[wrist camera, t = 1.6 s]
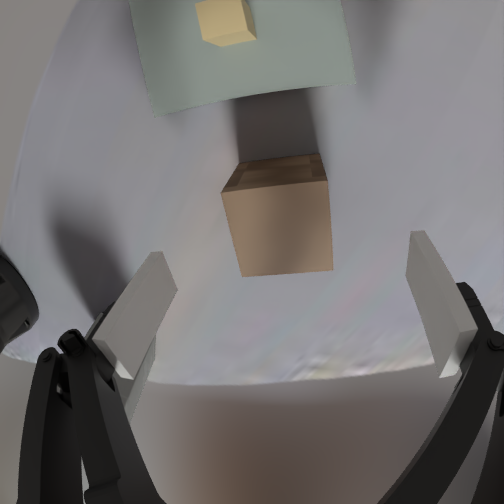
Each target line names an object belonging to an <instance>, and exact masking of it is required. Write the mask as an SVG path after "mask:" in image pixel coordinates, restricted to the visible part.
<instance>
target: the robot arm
mask: <svg viewBox="0 0 504 504" xmlns="http://www.w3.org/2000/svg"><path fill="white" fill-rule="evenodd" d="M406 278H407V281H408V283H409V286H410V289H411V291H412V294H413V297H414V299H415V302H416V305H417V308H418V310H419V313H420V316H421V319H422V322H423V325H424V328H425V331H426V334H427V338H428V341H429V344H430V347H431V351H432V354H433V358H434V361H435V365H436V368H437V372H438V376H439V378H442V377H447V376H452V375H455V374H456V372H457V370H458V369H459V367H460V368H461V371H462V376H461V377H460V379H459V381H458V382H457V384H456V386H455V389H454V391H453V393H452V395H451V397H450V399H449V401H448V403H447V405H446V407H445V408H444V410H443V412H442V414H441V415H440V417H439V419H438V420H437V422H436V424H435V426H434V427H433V429H432V430H431V432H430V434H429V435H428V437H427V438H426V440H425V441H424V443H423V444H422V446H421V447H420V449H419V450H418V452H417V453H416V455H415V456H414V458H413V459H412V460H411V462H410V463H409V465H408V466H407V467H406V469H405V470H404V471H403V473H402V474H401V475H400V477H399V478H398V479H397V480H396V482H395V483H394V484H393V485H392V487H391V488H390V489H389V490H388V491H387V493H386V494H385V495H384V496H383V498H381V500H380V501H379V502H378V503H377V504H437V503H438V501H439V500H440V499H441V497H442V496H443V494H444V493H445V491H446V490H447V488H448V486H449V485H450V483H451V482H452V480H453V478H454V477H455V475H456V474H457V472H458V470H459V469H460V467H461V465H462V463H463V461H464V460H465V458H466V456H467V454H468V452H469V450H470V448H471V447H472V445H473V443H474V441H475V439H476V436H477V434H478V432H479V430H480V428H481V426H482V424H483V421H484V419H485V417H486V415H487V412H488V410H489V407H490V405H491V402H492V400H493V397H494V394H495V392H496V391H498V395H497V403H496V410H495V416H494V422H493V427H492V432H491V437H490V441H489V446H488V450H487V454H486V458H485V461H484V465H483V469H482V472H481V476H480V479H479V482H478V485H477V488H476V491H475V494H474V496H473V499H472V502H471V504H504V335H503V334H502V333H500V332H498V331H494V329H493V327H492V325H491V323H490V321H489V319H488V317H487V315H486V313H485V311H484V309H483V307H482V306H481V303H480V301H479V299H477V296H476V294H475V292H474V290H473V289H472V288H471V287H470V286H469V285H468V284H467V283H465V282H461V283H455V281H454V280H453V278H452V276H451V274H450V272H449V271H448V269H447V267H446V265H445V264H444V262H443V260H442V258H441V257H440V255H439V253H438V252H437V250H436V248H435V247H434V245H433V244H432V242H431V240H430V239H429V237H428V236H427V234H426V232H425V231H411V234H410V244H409V253H408V261H407V269H406ZM177 290H178V289H177V287H176V284H175V282H174V279H173V277H172V274H171V272H170V269H169V267H168V264H167V262H166V259H165V257H164V254H163V252H162V251H161V252H151V253H150V254H149V256H148V257H147V259H146V260H145V261H144V263H143V264H142V265H141V267H140V268H139V270H138V271H137V272H136V274H135V275H134V277H133V278H132V279H131V281H130V282H129V284H128V285H127V287H126V288H125V289H124V291H123V292H122V294H121V295H120V297H119V298H118V300H117V301H116V302H113V303H112V304H111V305H110V306H109V307H108V308H107V309H106V310H105V312H104V313H103V315H102V317H101V318H100V319H99V322H98V323H97V324H96V325H95V327H94V329H93V330H92V332H91V333H90V335H89V336H88V338H87V339H86V340H85V339H84V337H83V336H82V334H81V333H80V332H79V330H77V329H71V330H68V331H67V332H65V333H64V334H63V335H62V336H61V337H60V338H59V340H58V344H57V345H58V346H59V347H60V349H61V350H62V351H63V353H62V354H59V353H58V351H57V350H56V349H55V348H53V347H49V348H47V349H45V350H44V351H42V353H41V354H40V355H39V357H38V360H37V364H36V368H35V372H34V376H33V380H32V385H31V389H30V394H29V399H28V404H27V409H26V415H25V421H24V427H23V435H22V443H21V451H20V462H19V479H18V500H17V503H16V504H84V503H83V491H82V471H81V470H82V469H81V456H82V460H83V464H84V468H85V472H86V476H87V479H88V483H89V489H87V490H86V491H85V492H84V499H85V503H86V504H166V503H165V502H164V501H163V500H162V499H161V497H160V496H159V494H158V493H157V491H156V488H155V486H154V484H153V482H152V480H151V478H150V475H149V473H148V471H147V468H146V466H145V464H144V461H143V459H142V456H141V454H140V451H139V449H138V446H137V444H136V441H135V438H134V436H133V433H132V430H131V427H130V424H129V421H128V418H127V415H126V412H125V409H124V406H123V403H122V400H121V396H120V393H119V390H118V386H117V383H116V380H115V378H114V376H113V373H114V371H115V370H116V372H117V373H118V374H119V375H120V377H122V378H127V379H133V380H134V378H135V376H136V373H137V371H138V369H139V367H140V365H141V363H142V361H143V359H144V357H145V354H146V352H147V350H148V348H149V346H150V344H151V342H152V340H153V338H154V336H155V334H156V332H157V330H158V328H159V326H160V324H161V322H162V320H163V318H164V316H165V314H166V312H167V310H168V308H169V306H170V304H171V302H172V300H173V298H174V296H175V294H176V292H177ZM38 317H39V312H38V307H37V304H36V302H35V300H34V297H33V295H32V294H31V292H30V290H29V288H28V287H27V285H26V284H25V282H24V281H23V280H22V278H21V277H20V276H19V274H18V273H17V272H16V271H15V269H14V268H13V267H12V266H11V265H10V264H9V263H8V262H7V261H6V260H5V259H3V258H2V257H1V256H0V353H1V352H2V350H3V349H4V348H5V346H6V345H7V344H8V343H10V342H11V341H13V340H14V339H16V338H17V337H19V336H21V335H22V334H24V333H25V332H27V331H28V330H30V329H31V328H32V327H33V325H34V324H35V323H36V321H37V320H38ZM57 386H58V387H59V388H60V393H58V392H57Z"/></svg>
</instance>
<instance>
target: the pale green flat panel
mask: <svg viewBox="0 0 504 504" xmlns="http://www.w3.org/2000/svg"><path fill="white" fill-rule="evenodd" d="M129 6H130V12H131V17H132V22H133V27H134V32H135V37H136V42H137V47H138V51H139V56H140V60H141V65H142V69H143V73H144V78H145V82H146V86H147V90H148V94H149V98H150V102H151V106H152V110H153V114H154V118H156V117H160V116H163V115H167V114H170V113H174V112H177V111H181V110H185V109H189V108H193V107H197V106H201V105H205V104H210V103H214V102H219V101H223V100H228V99H233V98H239V97H244V96H250V95H255V94H261V93H268V92H275V91H282V90H290V89H298V88H308V87H319V86H332V85H349V84H356V77H355V71H354V64H353V58H352V53H351V47H350V42H349V37H348V32H347V27H346V22H345V18H344V13H343V9H342V5H341V1H340V0H130V1H129Z"/></svg>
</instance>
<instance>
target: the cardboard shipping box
mask: <svg viewBox="0 0 504 504" xmlns="http://www.w3.org/2000/svg"><path fill="white" fill-rule="evenodd" d="M221 196H222V200H223V204H224V208H225V212H226V216H227V220H228V224H229V228H230V232H231V236H232V240H233V244H234V248H235V252H236V256H237V260H238V263H239V267H240V271H241V275H242V277H249V276H264V275H278V274H292V273H305V272H318V271H330V270H333V249H332V231H331V216H330V203H329V191H328V180H327V177H326V173H325V170H324V167H323V163H322V160H321V157H320V154H309V155H299V156H290V157H282V158H274V159H266V160H259V161H252V162H245V163H239V164H238V166H237V168H236V169H235V171H234V172H233V174H232V176H231V177H230V179H229V180H228V182H227V184H226V185H225V187H224V188H223V190H222V192H221Z"/></svg>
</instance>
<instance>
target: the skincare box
mask: <svg viewBox="0 0 504 504" xmlns="http://www.w3.org/2000/svg"><path fill="white" fill-rule="evenodd" d="M102 315H103V313H100V314H99V315H98V317H97V318H96V320H95V321H94V323H93V324H92V326H91V328H90V329H89V331H88V332H87V334H86V336H85V337H84V339H85V340H86V339H87V338H88V336H89V335H90V333H91V332H92V330H93V329H94V327H95V325H96V324H97V323H98V322H99V319H100V318H101V317H102ZM155 343H156V334H155V336H154V338H153V340H152V342H151V344H150V346H149V348H148V350H147V352H146V354H145V357H144V359H143V361H142V363H141V365H140V367H139V369H138V371H137V373H136V376H135V378H134V380H133V379H127V378H122V377H120V375H119V374H118V373H117V372H116V370H115V371H114V373H113V376H114V378H115V380H116V383H117V386H118V390H119V393H120V396H121V400H122V403H123V406H124V409H125V412H126V415H127V418H128V421H129V424H130V422H131V419H132V417H133V414H134V411H135V409H136V406H137V403H138V401H139V398H140V395H141V393H142V390H143V387H144V385H145V382H146V380H147V377H148V374H149V372H150V369H151V367H152V364H153V362H154V360H155ZM57 392H58V393H60V388H59V387H58V386H57Z"/></svg>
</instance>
